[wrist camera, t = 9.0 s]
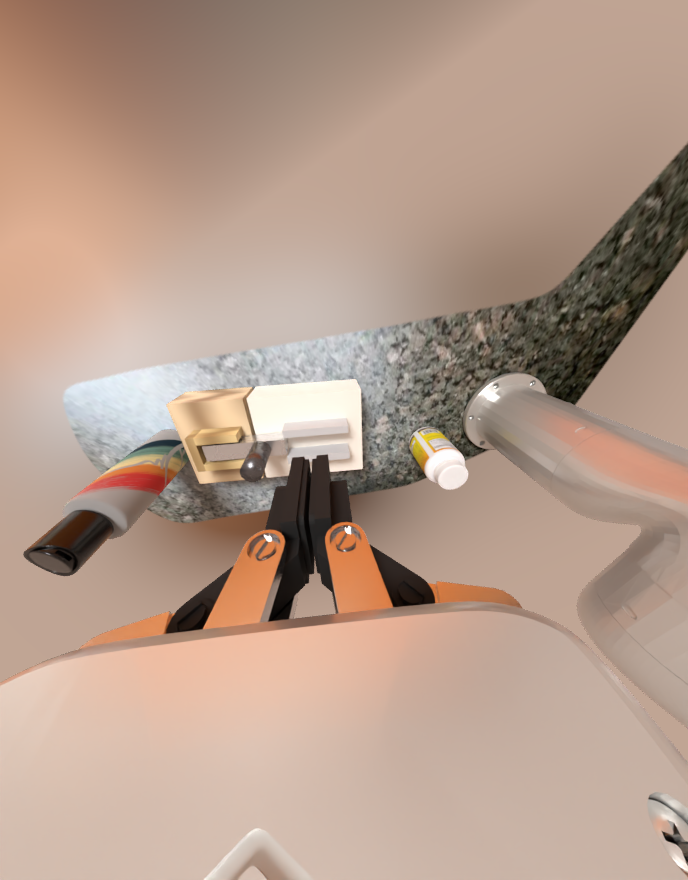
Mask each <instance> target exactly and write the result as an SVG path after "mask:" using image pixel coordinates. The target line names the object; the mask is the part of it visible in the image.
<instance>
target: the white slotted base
mask: <svg viewBox="0 0 688 880" xmlns="http://www.w3.org/2000/svg"><path fill="white" fill-rule="evenodd" d="M246 399H247V403H248V406H249V410H250V414H251V418H252V422H253V426H254V430H255V434H256V435H261V434H273V433H283V438H287V441H288V446H289V448H288V452H287V455H278V456H269V459H268V462H267V464H266V467H265V473H266V477H267V478H270V477H281V476H289V471H290V466H291V461H292V458H293V457H305V459H309V462H310V468H311V471H312V459H316V457H317V455H326V454H328V458H329V468H330V472H336V471H346V470H357V469H363V459H362V416H361V389H360V387H359V384H358V382H357V380H356V379H351V380H338V381H325V382H311V383H298V384H285V385H272V386H259V387H255V389H254V390H253V391H252V392H251V394H250V395H249V396H248V397H247V398H246Z"/></svg>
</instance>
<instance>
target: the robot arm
mask: <svg viewBox="0 0 688 880" xmlns="http://www.w3.org/2000/svg"><path fill="white" fill-rule="evenodd" d="M463 428H464V432H465V434H466V436H467V437H468V438H469V440H470V441H471V442H473V443H474V444H475V445H477V446H478V447H480V448H484V449H491V450H494V449H497V450H498V451H499V452H500V453H502V454H503V455H504V456H505V457H506V458H508V459H509V460H510V461H511V462H513V463H514V464H515V465H516V466H517V467H519V468H520V469H521V470H522V471H524V472H525V473H526V474H527V475H528V476H530V477H531V478H532V479H533V480H534V481H536V482H537V483H538V484H539V485H541V486H542V487H543V488H544V489H545V490H547V491H548V492H549V493H550V494H552V495H553V496H554V497H555V498H557V499H558V500H559V501H560V502H561V503H563V504H564V505H565V506H567V507H568V508H569V509H571V510H572V511H574V512H576V513H578V514H580V515H582V516H585V517H587V518H590V519H594V520H598V521H603V522H610V523H618V524H630V525H639V526H640V527H641V533H640V536H639V537H638V538H637V539H636V540H635V541H634V542H633V543H632V544H631V545H630V546H629V548H628V549H627V550H626V551H625V552H623V553H622V554H621V555H620V556H619V557H618V558H617V559H615V560H614V561H613V562H612V563H611V564H610V565H609V566H608V567H606V568H605V569H604V570H603V571H602V572H601V573H600V574H598V575H597V576H596V577H595V578H594V579H593V580H591V582H589V583H588V584H587V585H586V587H585V588H584V589H583V590H582V592H581V593H580V595H579V597H578V602H577V611H578V616H579V619H580V621H581V623H582V625H583V627H584V629H585V631H586V632H587V634H588V635H589V637H590V638H591V640H592V641H593V642H594V644H595V645H596V646H597V647H598V649H599V650H600V651H601V652H602V653H603V654H604V656H605V657H606V658H607V659H608V660H609V661H610V662H611V663H612V664H613V665H614V666H615V667H616V668H617V669H618V670H619V671H620V672H621V673H622V674H624V676H626V677H627V678H628V679H629V680H630V681H631V682H632V683H633V684H634V685H635V686H637V687H638V688H639V689H640V690H641V691H642V692H644V693H645V694H646V695H647V696H648V697H649V698H651V699H652V700H653V701H654V702H655V703H657V704H658V705H659V706H660V707H662V708H663V709H664V710H665V711H667V712H668V713H669V714H670V715H671V716H673V717H674V718H675V719H676V720H678V721H679V722H680V723H681V724H683V725H684V726H685V727H686V728H687V729H688V449H686V448H683V447H680V446H678V445H675V444H672V443H669V442H667V441H664V440H661V439H659V438H656V437H654V436H651V435H648V434H646V433H643V432H641V431H638V430H636V429H633V428H630V427H628V426H625V425H623V424H620V423H618V422H615V421H612V420H610V419H608V418H605V417H602V416H600V415H597V414H595V413H592V412H590V411H587V410H585V409H582V408H579V407H577V406H575V405H572V404H571V403H567V402H564V401H562V400H559V399H557V398H554V397H552V396H549V395H547V394H546V390H545V388H544V386H543V384H542V383H541V382H540V381H539V380H538V379H537V378H535V377H533V376H531V375H528V374H525V373H518V372H516V373H507V374H504V375H500V376H498V377H496V378H494V379H492V380H490V381H489V382H487V383H485V384H484V385H483V386H482V387H481V388H480V389H478V391H477V392H476V393H475V394H474V395H473V396H472V398H471V399H470V401H469V403H468V404H467V407H466V409H465V412H464V416H463ZM314 555H315V561H316V566H317V572H318V573H320V575H321V581H322V584H323V585H324V586H326V587H327V588H328V589H329V590H330V591H331V592H332V596H333V602H334V607H335V613H336V614H331V615H322V616H313V617H305V618H296V619H294V615H295V610H296V606H297V601H298V592H299V591H300V590H301V589H302V588H303V587H304V586H305V584H307V583H309V574H314ZM0 880H688V762H687V761H686V760H685V758H684V757H683V756H682V755H681V754H680V752H679V751H678V750H677V749H676V747H675V746H674V745H673V744H672V743H671V741H670V740H669V739H668V737H667V736H666V735H665V734H664V733H663V731H662V730H661V729H660V728H659V726H658V725H657V724H656V723H655V721H654V720H653V719H652V718H651V717H650V715H649V714H648V713H647V712H646V710H645V709H644V708H643V707H642V706H641V704H640V703H639V702H638V701H637V700H636V699H635V697H634V696H633V695H632V694H631V693H630V692H629V690H628V689H627V688H626V687H625V686H624V685H623V683H622V682H621V681H620V680H619V679H618V678H617V677H616V675H615V674H614V673H613V672H612V671H611V670H610V669H609V668H608V667H607V665H606V664H605V663H604V662H603V661H602V660H601V659H600V658H599V657H598V656H597V655H596V654H595V653H594V652H593V651H592V650H591V649H590V648H589V647H588V646H587V645H586V644H585V643H584V642H583V641H582V640H581V639H580V638H579V637H577V636H576V635H575V634H573V633H572V632H571V631H570V630H568V629H567V628H565V627H564V626H562V625H560V624H559V623H557V622H555V621H553V620H551V619H548V618H546V617H544V616H541V615H539V614H536V613H534V612H531V611H528V610H525V609H523V608H522V607H521V605H520V603H519V602H518V601H517V600H516V599H515V598H514V597H512V596H511V595H510V594H508V593H506V592H505V591H503V590H499V589H496V588H489V587H481V586H473V585H465V584H456V583H449V582H440V581H437V582H436V584H431V583H427V582H426V581H425V580H424V579H422V578H421V577H420V576H418V575H417V574H415V573H413V572H412V571H410V570H409V569H407V568H405V567H404V566H402V565H401V564H399V563H398V562H396V561H395V560H393V559H392V558H390V557H388V556H387V555H385V554H384V553H382V552H380V551H379V550H377V549H376V548H374V547H373V546H371V545H370V544H369V542H368V540H367V537H366V535H365V532H364V531H363V529H362V528H361V527H360V526H358V525H356V524H354V523H352V517H351V510H350V503H349V495H348V488H347V481H346V480H342V481H331V478H330V468H329V458H328V454H326V455H317V457H316V459H312V471H311V468H310V462H309V459H305V457H293V458H292V461H291V466H290V471H289V477H288V482H287V486H278V487H276V489H275V493H274V497H273V501H272V505H271V509H270V513H269V517H268V521H267V525H266V529H265V530H264V531H261V532H258V533H257V534H255V535H253V536H252V537H251V538H250V539H249V540H248V541H247V542H246V544H245V545H244V547H243V549H242V551H241V553H240V555H239V557H238V559H237V561H236V563H235V565H234V566H233V567H231V568H230V569H229V570H227V571H226V572H225V573H224V574H222V575H221V576H220V577H218V578H217V579H216V580H215V581H214V582H212V583H211V584H209V585H208V586H207V587H206V588H204V589H203V590H202V591H201V592H199V593H198V594H196V595H195V596H194V597H193V598H191V599H190V600H189V601H188V602H186V603H185V604H184V605H183V606H182V607H181V608H179V609H178V610H177V612H176V613H173V614H171V612H170V611H168V612H165V613H162V614H159V615H156V616H153V617H150V618H147V619H144V620H141V621H138V622H135V623H132V624H129V625H126V626H123V627H120V628H117V629H114V630H111V631H108V632H105V633H102V634H100V635H98V636H96V637H94V638H92V639H91V640H89V641H88V642H87V643H85V644H84V645H82V646H81V647H80V648H79V649H78V650H75V651H71V652H68V653H65V654H63V655H60V656H57V657H54V658H51V659H49V660H46V661H43V662H41V663H39V664H37V665H35V666H32V667H30V668H28V669H26V670H24V671H22V672H20V673H17V674H15V675H13V676H11V677H9V678H8V679H6V680H4V681H2V682H0Z"/></svg>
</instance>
